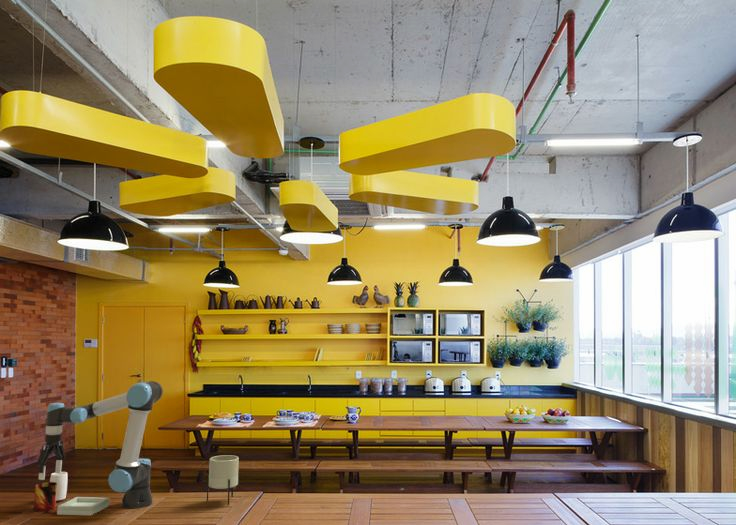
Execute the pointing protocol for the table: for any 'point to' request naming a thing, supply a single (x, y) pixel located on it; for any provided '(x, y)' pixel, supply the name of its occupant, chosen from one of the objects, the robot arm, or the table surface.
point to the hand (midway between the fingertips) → (50, 476)
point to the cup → (60, 484)
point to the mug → (45, 496)
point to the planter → (223, 473)
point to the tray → (83, 506)
